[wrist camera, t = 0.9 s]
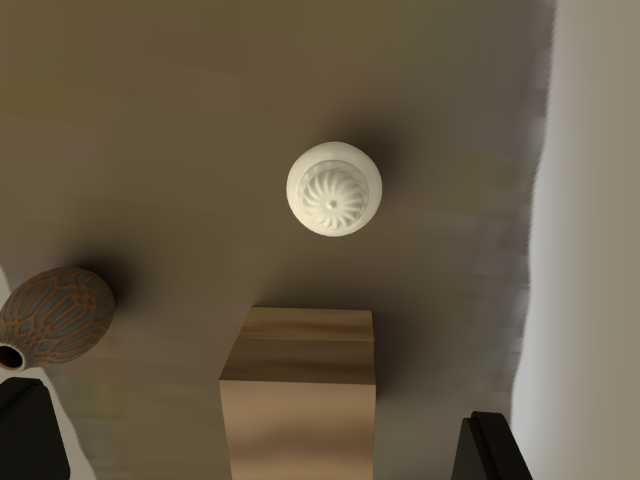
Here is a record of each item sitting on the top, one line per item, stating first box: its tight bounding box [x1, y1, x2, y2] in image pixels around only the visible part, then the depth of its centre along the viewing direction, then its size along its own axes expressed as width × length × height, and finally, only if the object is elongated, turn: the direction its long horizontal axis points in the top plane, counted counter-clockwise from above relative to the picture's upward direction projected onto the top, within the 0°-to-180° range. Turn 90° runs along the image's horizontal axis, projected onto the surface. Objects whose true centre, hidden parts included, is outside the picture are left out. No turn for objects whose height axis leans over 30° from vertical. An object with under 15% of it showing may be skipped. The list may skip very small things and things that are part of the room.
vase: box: [0, 267, 115, 372], centre depth 30 cm, size 7×7×9 cm
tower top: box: [219, 338, 376, 480], centre depth 29 cm, size 10×10×4 cm
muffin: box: [287, 142, 382, 236], centre depth 26 cm, size 6×6×7 cm
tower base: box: [238, 307, 374, 355], centre depth 34 cm, size 10×10×4 cm
